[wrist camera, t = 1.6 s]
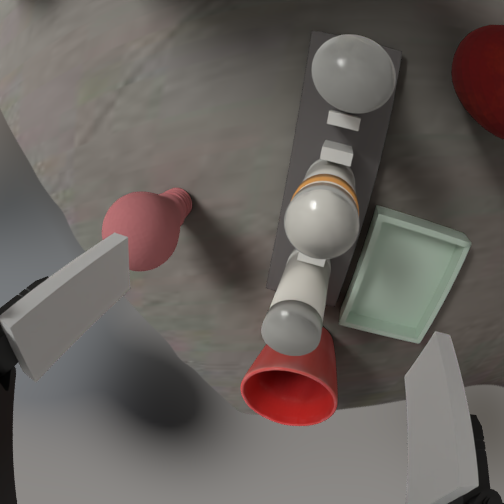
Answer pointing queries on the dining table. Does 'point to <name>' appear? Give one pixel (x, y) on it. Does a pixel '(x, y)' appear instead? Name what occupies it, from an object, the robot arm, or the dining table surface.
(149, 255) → the light bulb
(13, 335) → the robot arm
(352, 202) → the cylinder
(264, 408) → the flower pot
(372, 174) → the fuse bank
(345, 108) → the white rounded cylinder
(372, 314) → the tray
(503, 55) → the apple
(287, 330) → the fuse
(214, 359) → the dining table surface
